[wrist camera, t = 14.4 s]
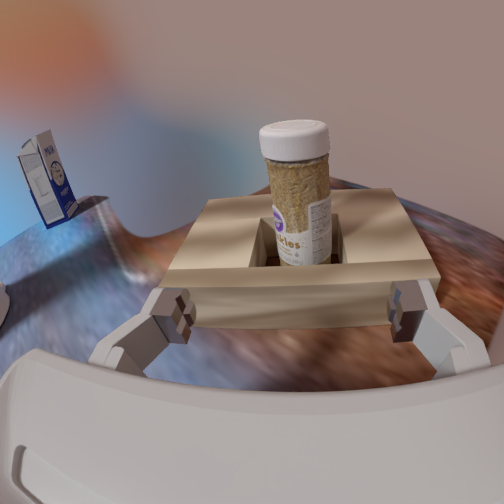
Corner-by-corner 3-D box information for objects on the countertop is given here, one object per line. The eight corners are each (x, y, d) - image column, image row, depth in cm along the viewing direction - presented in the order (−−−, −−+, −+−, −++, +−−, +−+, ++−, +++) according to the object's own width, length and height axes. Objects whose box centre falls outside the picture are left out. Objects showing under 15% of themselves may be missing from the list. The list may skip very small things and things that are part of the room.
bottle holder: (425, 320, 18) (440, 277, 16) (178, 325, 23) (158, 286, 20) (388, 224, 29) (391, 188, 27) (217, 233, 34) (208, 199, 31)
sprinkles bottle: (271, 281, 25) (244, 129, 17) (307, 258, 27) (293, 116, 19) (306, 308, 22) (291, 135, 14) (343, 279, 24) (342, 121, 16)
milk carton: (69, 220, 49) (35, 134, 38) (46, 229, 49) (13, 148, 37) (79, 206, 55) (50, 128, 44) (57, 215, 55) (28, 140, 43)
